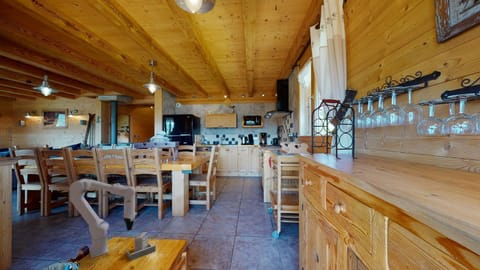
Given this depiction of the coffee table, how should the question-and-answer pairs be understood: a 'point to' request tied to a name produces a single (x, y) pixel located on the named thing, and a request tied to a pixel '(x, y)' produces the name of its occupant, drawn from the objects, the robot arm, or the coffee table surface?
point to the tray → (141, 252)
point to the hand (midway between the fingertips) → (129, 230)
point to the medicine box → (141, 241)
